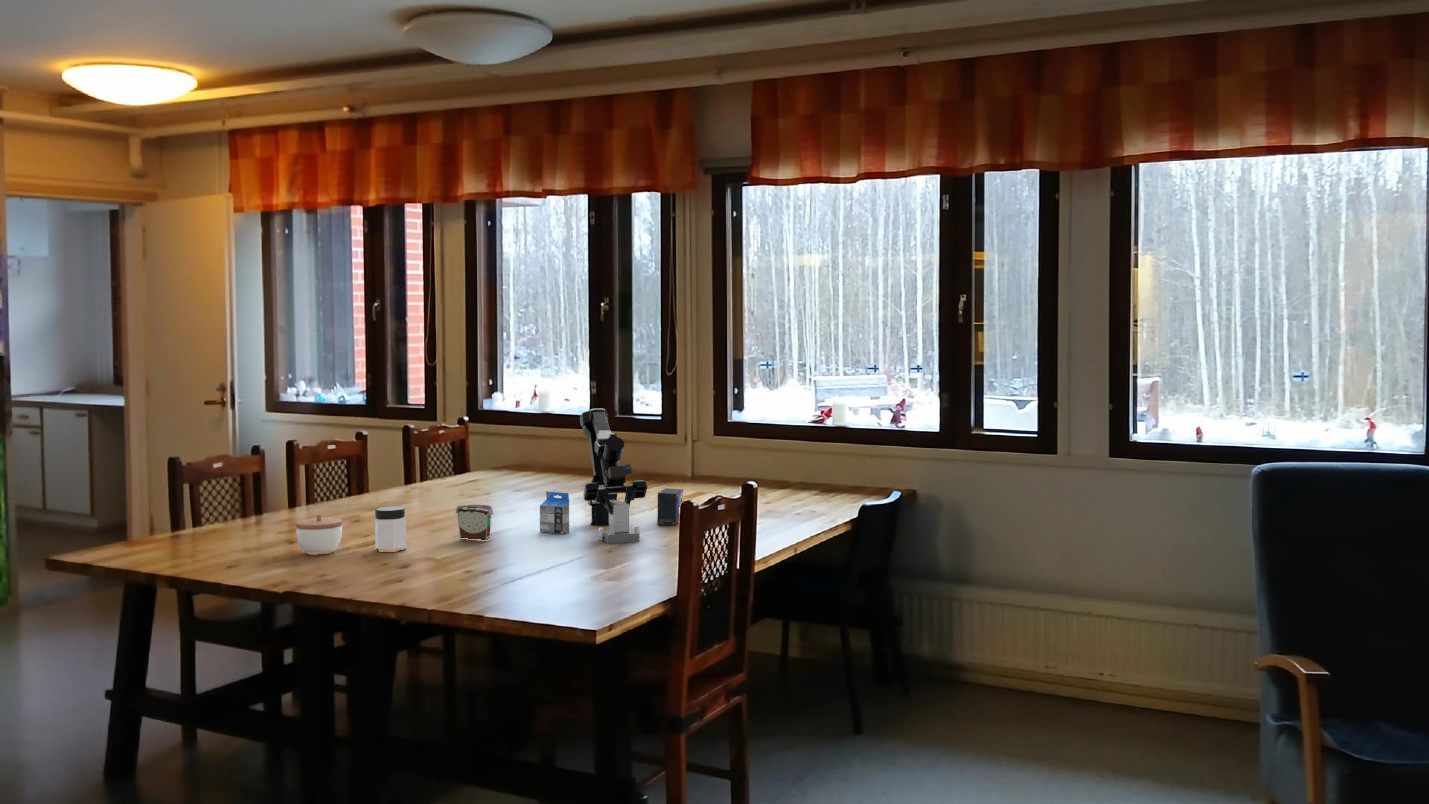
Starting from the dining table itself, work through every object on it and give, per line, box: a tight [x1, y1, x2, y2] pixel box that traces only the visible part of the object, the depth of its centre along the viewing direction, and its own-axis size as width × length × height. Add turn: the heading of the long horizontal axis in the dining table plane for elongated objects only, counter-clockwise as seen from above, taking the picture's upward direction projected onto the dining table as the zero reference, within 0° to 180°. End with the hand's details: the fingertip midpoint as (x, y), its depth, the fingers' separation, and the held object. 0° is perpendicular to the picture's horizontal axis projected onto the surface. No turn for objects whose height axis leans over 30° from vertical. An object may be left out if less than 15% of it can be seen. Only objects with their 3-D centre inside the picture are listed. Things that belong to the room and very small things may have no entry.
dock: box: [597, 525, 641, 545], centre depth 356 cm, size 11×13×4 cm
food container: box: [455, 504, 494, 540], centre depth 357 cm, size 12×6×10 cm, turn 65°
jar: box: [374, 505, 407, 549], centre depth 342 cm, size 9×8×12 cm
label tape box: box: [539, 491, 570, 535], centre depth 368 cm, size 9×4×12 cm, turn 62°
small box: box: [656, 487, 684, 526], centre depth 383 cm, size 11×6×10 cm, turn 168°
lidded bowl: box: [295, 513, 344, 553], centre depth 338 cm, size 13×13×11 cm
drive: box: [608, 499, 630, 534], centre depth 356 cm, size 8×4×10 cm, turn 16°
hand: (619, 513), depth 355 cm, fingers closed on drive, 4 cm apart
